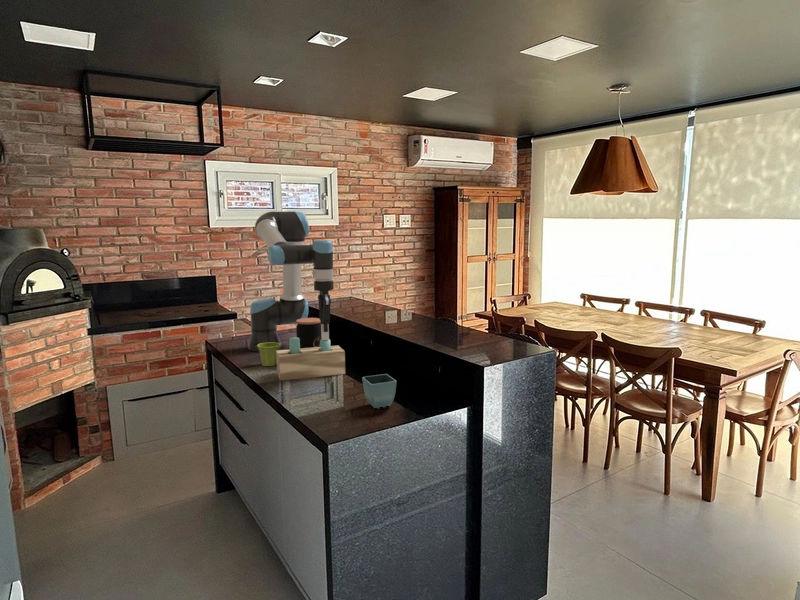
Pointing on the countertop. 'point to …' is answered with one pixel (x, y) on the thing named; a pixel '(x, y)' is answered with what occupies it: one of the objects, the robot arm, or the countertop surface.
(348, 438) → the countertop surface
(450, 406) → the countertop surface
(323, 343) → the peg
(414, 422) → the countertop surface
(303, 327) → the coffee jar
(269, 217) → the robot arm
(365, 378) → the flower pot
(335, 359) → the socket block
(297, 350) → the peg
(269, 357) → the plant pot
